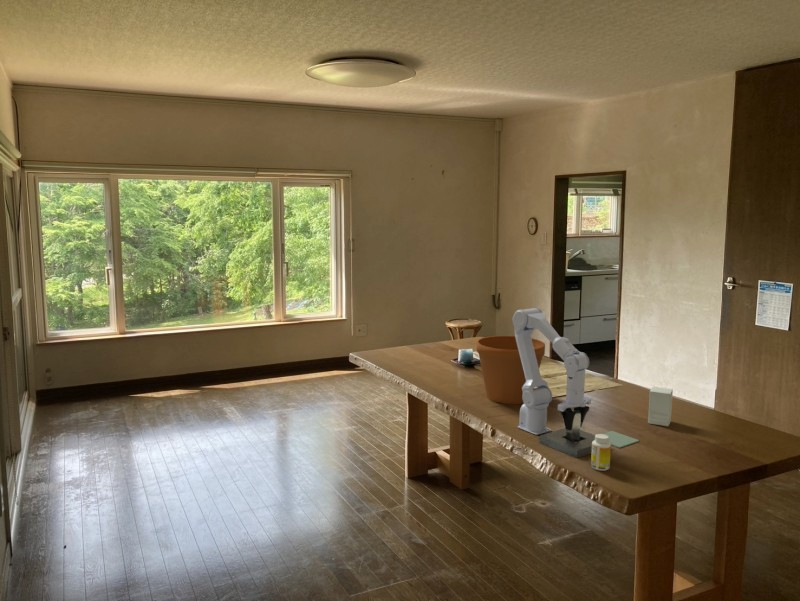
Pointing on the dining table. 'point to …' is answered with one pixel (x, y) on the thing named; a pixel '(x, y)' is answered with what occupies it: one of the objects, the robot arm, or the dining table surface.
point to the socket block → (569, 442)
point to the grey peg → (575, 427)
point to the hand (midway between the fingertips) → (573, 427)
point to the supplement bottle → (601, 453)
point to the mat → (619, 439)
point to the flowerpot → (504, 367)
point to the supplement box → (660, 406)
